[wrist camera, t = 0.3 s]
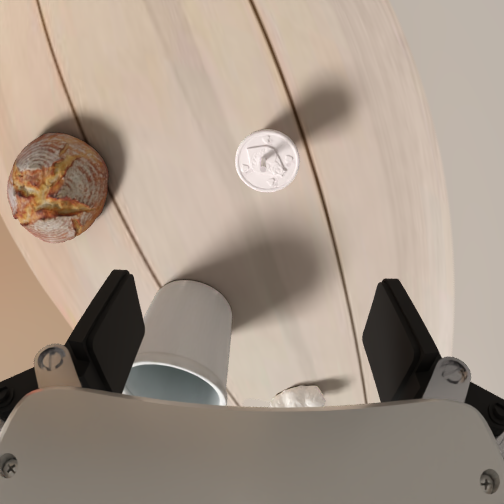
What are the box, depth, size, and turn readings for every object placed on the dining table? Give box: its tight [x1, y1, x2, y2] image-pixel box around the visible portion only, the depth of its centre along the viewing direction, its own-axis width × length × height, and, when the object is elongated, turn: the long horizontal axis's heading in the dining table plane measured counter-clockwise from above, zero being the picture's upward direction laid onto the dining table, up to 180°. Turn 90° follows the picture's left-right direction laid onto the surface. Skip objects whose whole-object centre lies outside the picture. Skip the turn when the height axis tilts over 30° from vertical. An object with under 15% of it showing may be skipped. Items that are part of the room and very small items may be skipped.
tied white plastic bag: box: [270, 385, 325, 407], centre depth 58 cm, size 12×8×11 cm
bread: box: [7, 133, 109, 243], centre depth 37 cm, size 16×20×10 cm
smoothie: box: [235, 129, 300, 192], centre depth 32 cm, size 6×6×14 cm
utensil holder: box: [122, 280, 232, 406], centre depth 44 cm, size 15×15×18 cm
